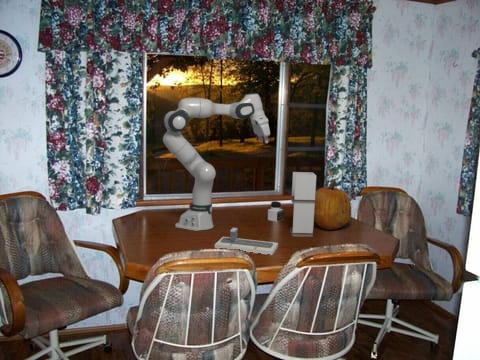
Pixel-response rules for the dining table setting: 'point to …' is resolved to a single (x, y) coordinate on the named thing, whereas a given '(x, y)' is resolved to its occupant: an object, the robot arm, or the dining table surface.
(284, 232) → the dining table surface
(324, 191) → the pumpkin
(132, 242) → the dining table surface
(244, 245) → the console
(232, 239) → the fader tab
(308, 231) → the light grey rectangular tower
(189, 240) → the dining table surface
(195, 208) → the robot arm
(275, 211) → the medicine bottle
